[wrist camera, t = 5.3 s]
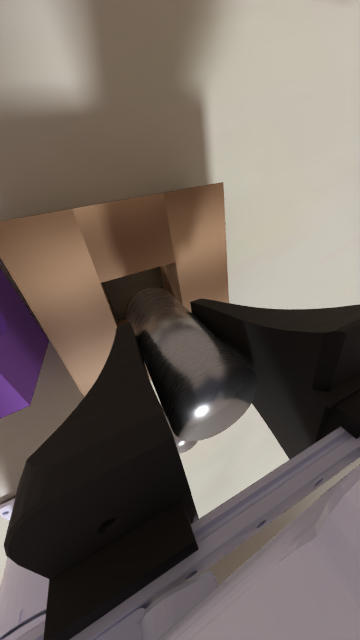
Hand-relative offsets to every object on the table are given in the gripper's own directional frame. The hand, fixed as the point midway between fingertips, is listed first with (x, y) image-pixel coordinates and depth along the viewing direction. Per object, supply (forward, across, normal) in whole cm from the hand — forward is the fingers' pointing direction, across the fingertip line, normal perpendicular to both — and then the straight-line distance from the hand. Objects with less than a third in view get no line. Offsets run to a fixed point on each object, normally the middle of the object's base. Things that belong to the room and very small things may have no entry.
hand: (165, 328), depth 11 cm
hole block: (+7, 0, 0) cm, 7 cm away
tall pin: (+2, 0, 0) cm, 3 cm away
